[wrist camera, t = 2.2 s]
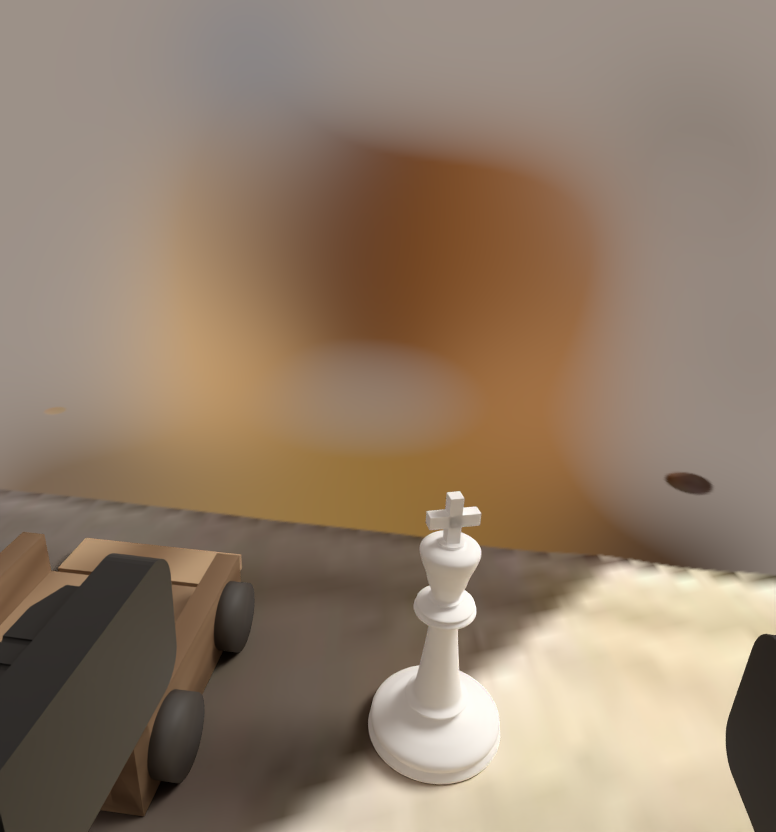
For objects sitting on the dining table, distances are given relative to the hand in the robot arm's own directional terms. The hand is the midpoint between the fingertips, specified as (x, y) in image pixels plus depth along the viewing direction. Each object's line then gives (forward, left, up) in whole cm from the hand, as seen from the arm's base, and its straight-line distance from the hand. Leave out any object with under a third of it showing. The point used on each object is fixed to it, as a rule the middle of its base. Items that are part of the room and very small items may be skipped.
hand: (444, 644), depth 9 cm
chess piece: (0, -11, -14) cm, 18 cm away
